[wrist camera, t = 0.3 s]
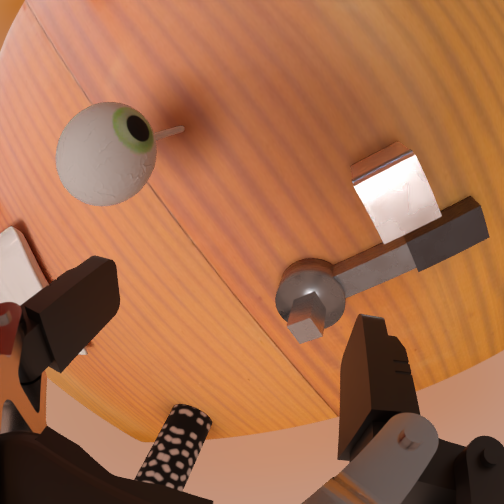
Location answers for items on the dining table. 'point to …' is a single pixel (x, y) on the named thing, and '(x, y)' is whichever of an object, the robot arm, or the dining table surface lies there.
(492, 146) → the dining table surface
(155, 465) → the spotted tube
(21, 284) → the square plate
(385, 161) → the silver block
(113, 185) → the lollipop
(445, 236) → the ratchet
